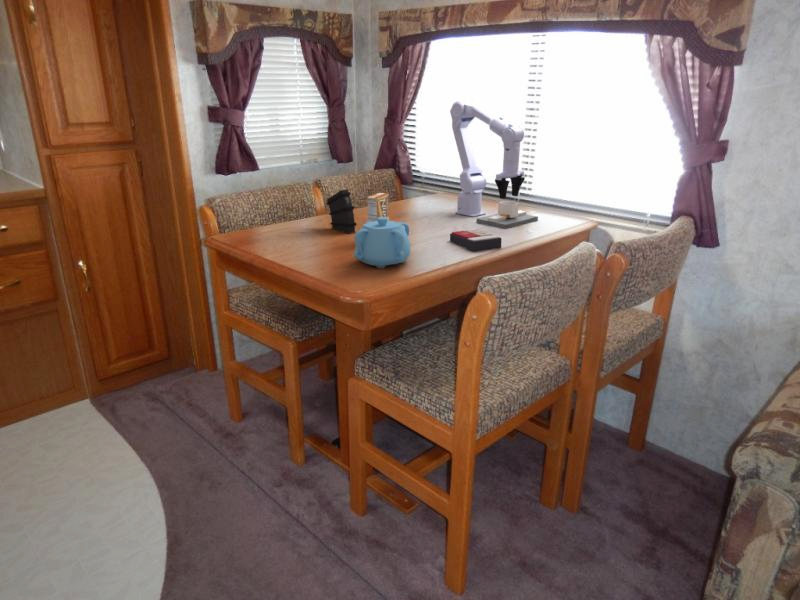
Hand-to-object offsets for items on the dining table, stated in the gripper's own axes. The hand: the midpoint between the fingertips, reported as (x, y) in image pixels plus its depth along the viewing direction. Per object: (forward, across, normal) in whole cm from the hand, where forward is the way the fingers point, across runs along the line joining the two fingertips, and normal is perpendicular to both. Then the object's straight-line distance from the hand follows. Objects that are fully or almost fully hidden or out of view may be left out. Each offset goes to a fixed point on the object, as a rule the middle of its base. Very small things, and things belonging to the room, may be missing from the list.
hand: (508, 197), depth 216 cm
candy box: (+10, -54, +13) cm, 56 cm away
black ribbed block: (+10, -55, +33) cm, 65 cm away
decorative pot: (+10, -70, -8) cm, 71 cm away
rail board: (+9, 0, 0) cm, 9 cm away
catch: (+7, 0, 0) cm, 7 cm away
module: (+7, 0, 0) cm, 7 cm away
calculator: (+10, -34, -13) cm, 38 cm away
